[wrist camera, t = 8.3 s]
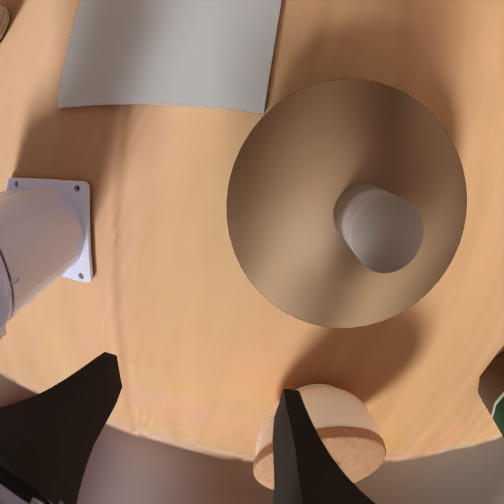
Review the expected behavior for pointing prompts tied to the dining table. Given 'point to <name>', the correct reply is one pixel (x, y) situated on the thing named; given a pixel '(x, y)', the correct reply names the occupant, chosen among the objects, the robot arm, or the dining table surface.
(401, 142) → the lid
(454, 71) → the dining table surface
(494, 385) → the beer bottle
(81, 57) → the mat
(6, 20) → the carving
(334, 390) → the lidded jar
